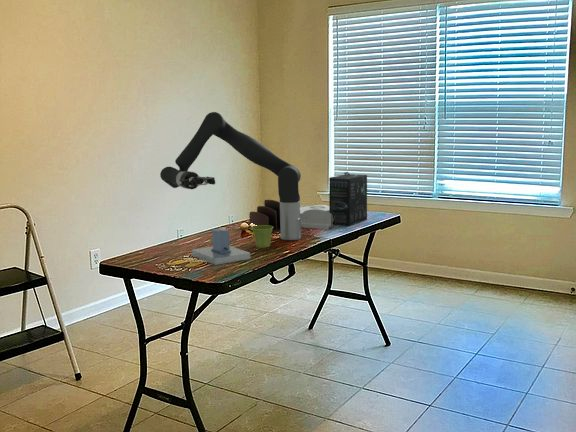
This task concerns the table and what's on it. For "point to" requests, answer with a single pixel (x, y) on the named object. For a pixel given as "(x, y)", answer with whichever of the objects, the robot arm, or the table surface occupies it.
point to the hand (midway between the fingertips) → (205, 182)
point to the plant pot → (262, 235)
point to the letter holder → (267, 215)
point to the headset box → (348, 198)
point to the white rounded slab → (320, 207)
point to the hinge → (316, 219)
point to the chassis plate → (220, 255)
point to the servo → (220, 241)
